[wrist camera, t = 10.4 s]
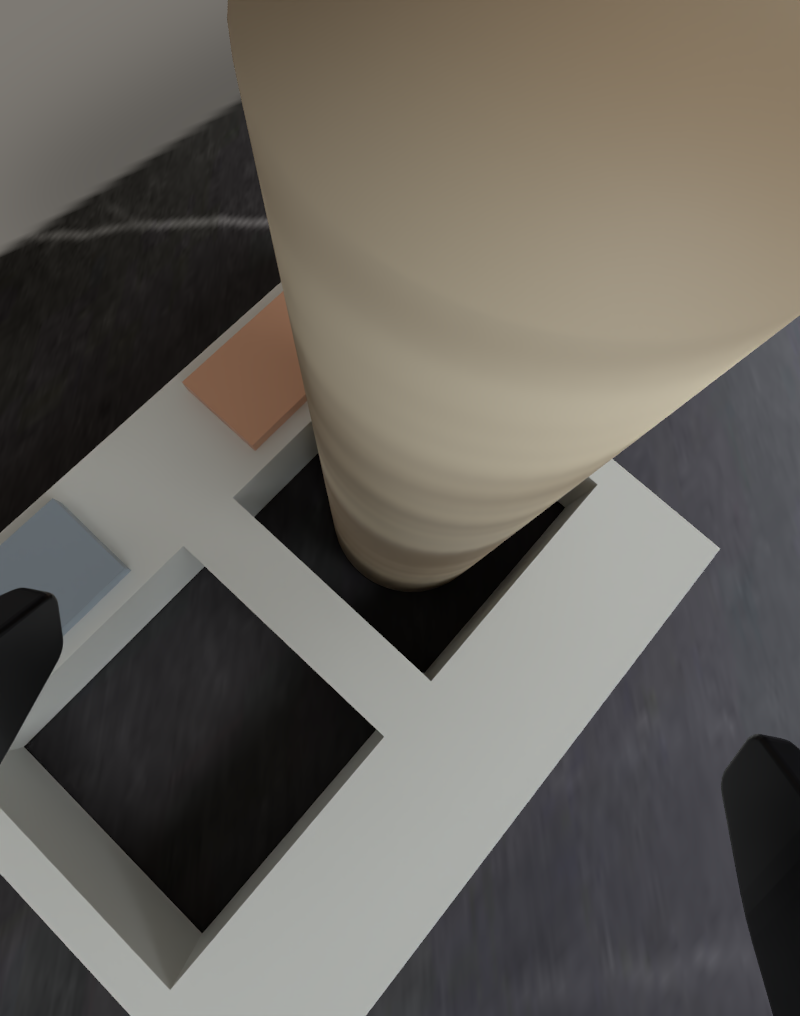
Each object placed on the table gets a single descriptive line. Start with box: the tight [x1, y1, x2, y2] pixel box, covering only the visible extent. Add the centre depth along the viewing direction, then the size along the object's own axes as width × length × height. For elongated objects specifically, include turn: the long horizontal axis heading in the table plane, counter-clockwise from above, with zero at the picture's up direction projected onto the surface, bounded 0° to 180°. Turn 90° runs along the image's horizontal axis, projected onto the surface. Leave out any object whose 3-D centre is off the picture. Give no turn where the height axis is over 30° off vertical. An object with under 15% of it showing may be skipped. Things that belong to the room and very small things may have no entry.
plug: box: [227, 0, 800, 592], centre depth 10 cm, size 4×4×14 cm
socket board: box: [0, 282, 720, 1016], centre depth 15 cm, size 16×13×3 cm
